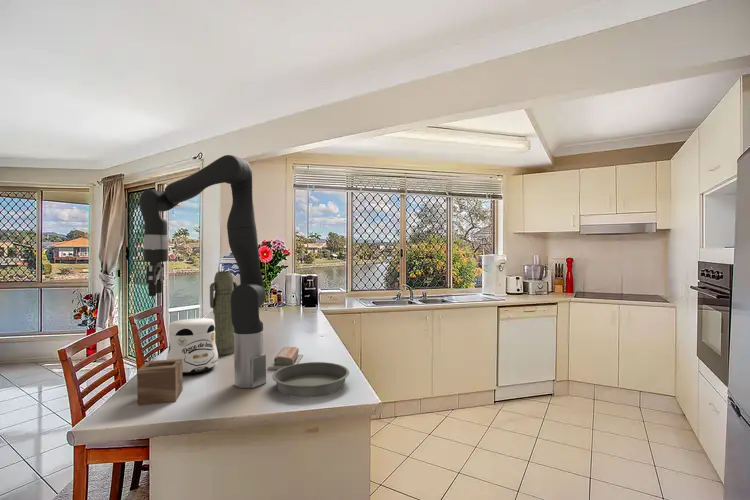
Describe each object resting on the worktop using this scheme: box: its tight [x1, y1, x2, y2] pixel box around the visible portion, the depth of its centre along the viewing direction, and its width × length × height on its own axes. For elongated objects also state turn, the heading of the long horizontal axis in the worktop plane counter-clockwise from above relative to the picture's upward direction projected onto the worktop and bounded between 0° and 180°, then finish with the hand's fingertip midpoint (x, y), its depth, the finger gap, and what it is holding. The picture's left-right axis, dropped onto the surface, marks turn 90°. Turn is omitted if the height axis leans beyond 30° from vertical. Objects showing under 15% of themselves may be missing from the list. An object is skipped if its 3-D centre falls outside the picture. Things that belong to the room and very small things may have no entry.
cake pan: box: [271, 361, 350, 398], centre depth 133 cm, size 25×25×4 cm
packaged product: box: [267, 346, 304, 370], centre depth 159 cm, size 18×5×10 cm
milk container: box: [165, 317, 219, 375], centre depth 151 cm, size 17×17×18 cm
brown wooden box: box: [136, 359, 184, 406], centre depth 123 cm, size 10×10×10 cm
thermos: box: [209, 270, 238, 357], centre depth 175 cm, size 9×12×35 cm
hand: (155, 294), depth 142 cm, fingers open, 8 cm apart
